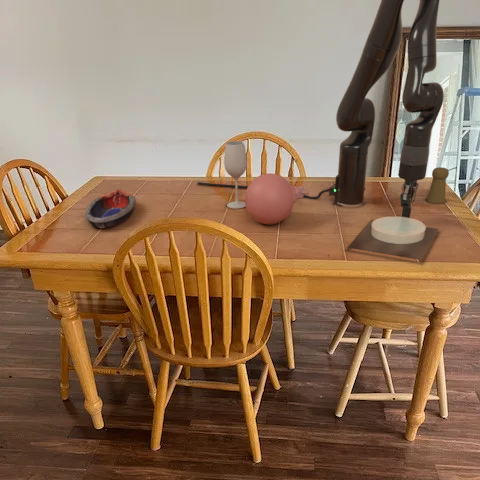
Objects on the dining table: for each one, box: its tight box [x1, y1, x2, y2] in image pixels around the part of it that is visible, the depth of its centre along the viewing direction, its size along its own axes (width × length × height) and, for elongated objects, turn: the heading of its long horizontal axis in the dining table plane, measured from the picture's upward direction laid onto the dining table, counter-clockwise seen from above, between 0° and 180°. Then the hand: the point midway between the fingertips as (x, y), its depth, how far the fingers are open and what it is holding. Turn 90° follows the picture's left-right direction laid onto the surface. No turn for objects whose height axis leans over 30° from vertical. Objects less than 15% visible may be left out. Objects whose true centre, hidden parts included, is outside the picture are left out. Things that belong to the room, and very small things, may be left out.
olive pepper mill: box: [426, 167, 450, 204], centre depth 168 cm, size 6×6×11 cm
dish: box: [84, 189, 136, 229], centre depth 168 cm, size 16×31×5 cm, turn 177°
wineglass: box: [223, 140, 248, 210], centre depth 169 cm, size 8×8×21 cm
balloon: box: [244, 173, 311, 225], centre depth 154 cm, size 15×20×15 cm
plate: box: [371, 215, 427, 244], centre depth 144 cm, size 15×15×3 cm
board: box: [347, 219, 439, 261], centre depth 142 cm, size 20×24×1 cm
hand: (405, 218), depth 150 cm, fingers closed
